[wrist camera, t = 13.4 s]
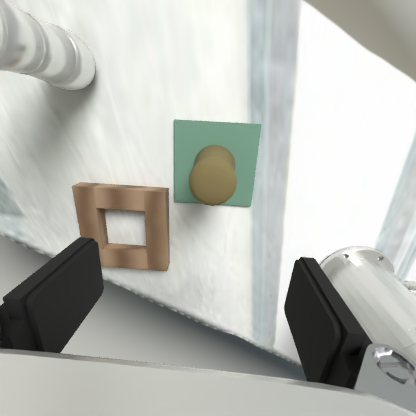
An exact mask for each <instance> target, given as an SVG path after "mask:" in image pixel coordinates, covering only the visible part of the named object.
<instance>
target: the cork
mask: <svg viewBox="0 0 416 416" xmlns="http://www.w3.org/2000/svg"><path fill="white" fill-rule="evenodd" d="M234 170H235V159H234V157H233V155H232V153H231V152H230V151H229V150H228V149H227V148H225V147H223V146H220V145H209V146H207V147H205V148H203V149H202V150H201V151H200V152H199V153H198V154H197V156H196V158H195V164H194V167H193V169H192V171H191V173H190V175H189V187H190V190H191V192H192V194H193V196H194V197H195V198H196V199H197V200H198V201H199V202H201V203H203V204H205V205H211V206H214V205H220V204H222V203H225V202H226V201H227V200H229V199H230V198H231V197H232V195H233V194H234V192H235V190H236V186H237V177H236V173H235V171H234Z"/></svg>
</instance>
